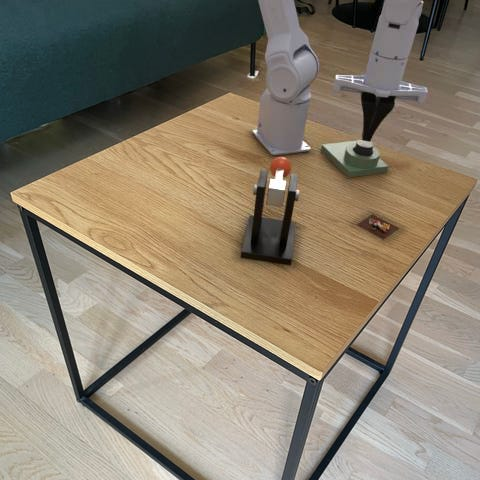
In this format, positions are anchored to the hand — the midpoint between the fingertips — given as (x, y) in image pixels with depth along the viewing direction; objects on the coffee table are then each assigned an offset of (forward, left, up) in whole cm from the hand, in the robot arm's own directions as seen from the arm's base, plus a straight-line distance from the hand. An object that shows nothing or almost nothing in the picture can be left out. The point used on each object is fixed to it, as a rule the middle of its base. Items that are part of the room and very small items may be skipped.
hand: (366, 138), depth 85 cm
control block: (-2, 0, -5) cm, 6 cm away
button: (0, 0, -3) cm, 3 cm away
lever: (+13, -23, +1) cm, 26 cm away
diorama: (+17, -7, -6) cm, 19 cm away
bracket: (+16, -25, -5) cm, 30 cm away
